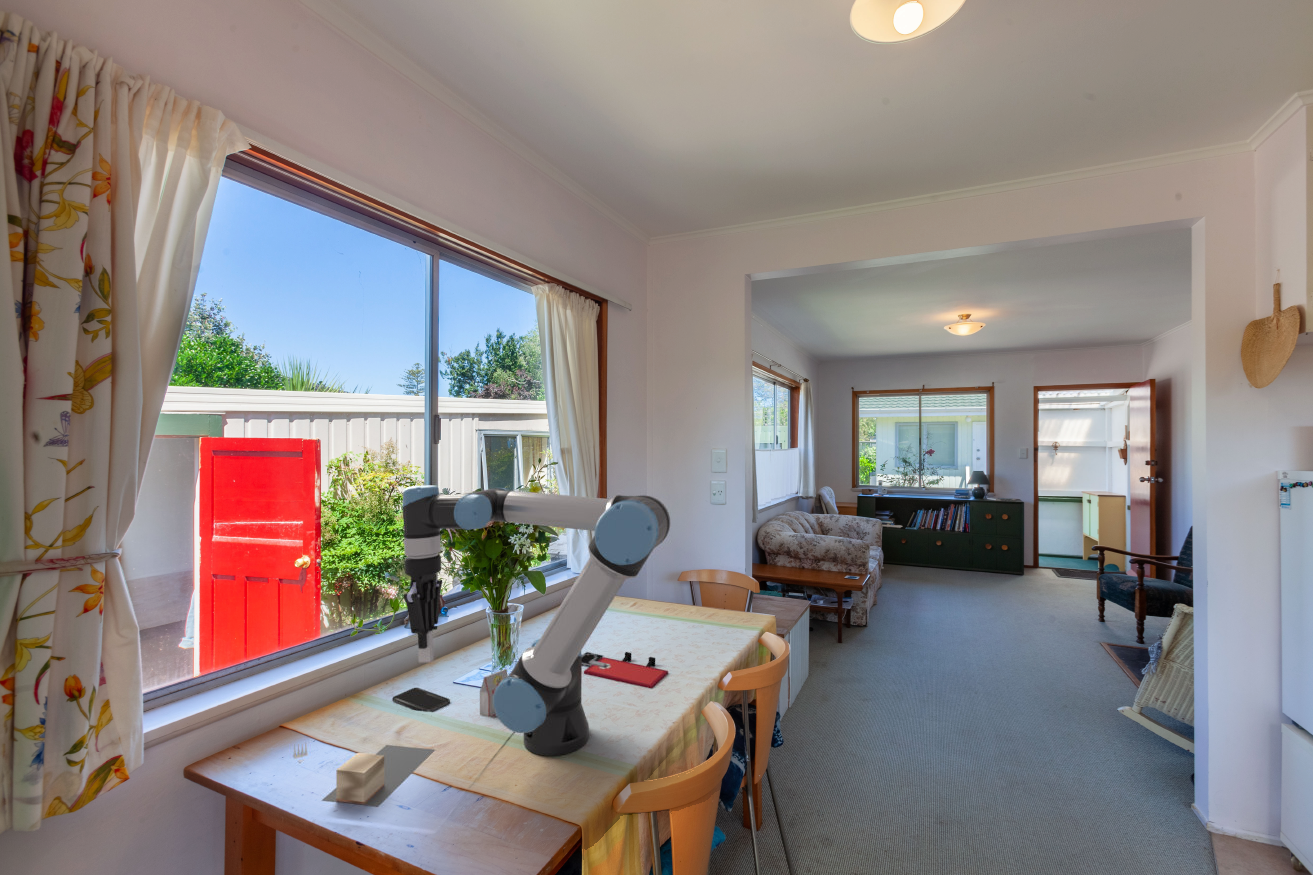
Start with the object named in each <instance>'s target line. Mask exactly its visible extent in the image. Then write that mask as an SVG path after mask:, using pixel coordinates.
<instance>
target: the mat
mask: <svg viewBox="0 0 1313 875" xmlns="http://www.w3.org/2000/svg"><path fill="white" fill-rule="evenodd" d="M434 752H435V749H433V748H432V749H431V748H421V747H413V746H401V745H393V744H392V745H391V744H386V745H384V746H383V747H382V748H381V749H380V750H379V751H377V753H375V754H374V755H383V756H384V786H383V787H382V788H381V789H380V790H379V791H378V792H377V793H376V794H375V795H374V796H373V797H371V798H370V799H369V800H368V801H367V802H366V803H365V804H359V803H351V802H343V801H337V790H336V787H335V788H334V789H333V790H332V791H331V792H329V793H328V794H327V795H326V796H325V797H324V798H323V799H321V802H322V801H323V802H331V803H340V804H341V803H342V804H348V805H349V804H350V805H358V806H365V807H375V808H378V807H380V805H381V804H383V803H384V802H385V801H386V799H388V797H389V796H391V794H393V793H394V791H396V789H398V788H399V787H400V786H401V785H402V783H403V782H405V780H407V779H408V778H409V777H410V775H412V773H414V771H416V770H417V769H418V768H419V767H420V766H421V765H422V764H423V763H424V762H425V761H426V760H427V759H428V757H429V756H430V755H432V754H433V753H434Z"/></svg>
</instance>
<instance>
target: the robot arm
mask: <svg viewBox="0 0 1313 875" xmlns="http://www.w3.org/2000/svg"><path fill="white" fill-rule="evenodd" d="M402 492H403V493H402V506H401V509H402V518H403V541H402V542H403V546H404V548H403V549H404V555H405V556H406V557H405V558H404V574H405V575H406V576H410V582H409V588H410V590H409V591H408V592H404V594H403V599H404V601H405V603H406V609H407V616H408V621H409V627H410V632H411V634H412V635H413V634H414V635H416V634H417V652H418V656H417V657H418V663H431V662H433V661H434V657H435V656H434V631H433V630H435V631H436V630H438V624H439V612H440V603H441V602H440V601H441V589H442V586H443V580H442V579H437V574H438V573H439V572H440V571H441V570H442V555H440V554H439V553H441V551H442V546H441V543H442V542H441V529H442V530H444V529H445V530H446V529H447V530H449V529H450V530H453V529H455V530H467V531H470V530H477V529H479V530H480V529H483V528H485V527H486V526H487V525H488V523H490V522H502V523H515V524H523V525H525V524H526V525H533V526H544V527H551V528H552V527H553V528H560V529H561V528H563V529H572V530H583V531H591V532H592V531H593V532H594V536H593V537H592V539H591V540H590V542H589V544H588V546H587V550H588V553H589V558H588V560H587V562H586V563H585V564H584V566H583V568H582V570H581V571H580V573H579V574H578V576H577V578H576V579H575V581H574V582H573V585H572V586H571V588H570V589H569V591H568V593H567V594H566V596H565V598H564V599H563V601H562V602H561V604H560V606H559V607H558V609H557V610H556V611H555V614H554V615H553V617H552V619H551V620H550V622H549V624H548V625H547V627H546V629H544V632H543V634H542V635H541V637H540V638H539V639H535V640H534V641H533V642H532V643H531V646H529V647H527V648H526V649H525V650H524V651H523V653H522V654H521V655H520V657H519V658H518V661H517V662H516V664H515V666H514V667H513V669H512V670H511V671H510V673H509V674H508V677H507V678H505V679H503V680H502V681H501V682H500V683H499V685H498V686H497V688H496V690H495V692H494V695H493V706H494V708H495V713H496V717H497V719H498V720H499V722H501V724H502V725H503V726H504V727H506V729H508V730H509V731H511V732H514V733H519V734H522V733H523V745H524V747H525V748H526V749H527V750H528V751H529V752H531V753H533V754H536V755H540V756H546V757H548V756H549V757H550V756H552V757H553V756H562V755H566V754H570V753H573V752H575V751H578V750H579V749H581V748H582V747H583V746H585V744H586V743H587V742H588V740H589V738H590V726H589V722H588V719H587V716H586V713H585V710H584V706H583V704H582V677H583V676H582V668H583V667H582V666H583V664H582V655H583V654H582V650H583V648H584V646H586V643H587V642H588V641H589V639H590V638H591V636H592V634H593V633H594V631H595V629H596V627H597V626H598V624H599V623H600V622H601V620H602V618H603V616H604V615H605V614H606V612H607V610H608V609H609V607H610V605H611V603H612V602H613V600H614V599H615V597H616V596H617V593H619V591H620V590H621V588H622V586H623V584H624V583H625V582H626V580H628V579H633V578H636V577H637V576H638V574H640V572H641V570H642V568H643V567H644V565H645V563H646V562H647V560H648V559H649V557H650V555H651V554H652V552H653V551H655V548H657V547H658V546H659V545H660V544H662V543H663V542H664V541H665V539H666V538H667V537H668V534H669V532H670V528H671V517H670V512H669V511H668V509H667V507H666V506H665V504H664V503H663V502H662V501H660V500H659V499H658V498H655V497H654V496H651V495H621V494H617V495H616V494H615V495H614V496H613V497H612V498H600V497H590V496H578V495H567V494H566V495H564V494H555V493H544V492H543V493H542V492H541V493H540V492H530V491H528V492H527V491H520V490H519V491H518V490H517V491H516V490H509V489H508V488H505V487H492V488H489V489H484V490H483V489H482V490H478V491H472V492H465V493H459V494H441V493H440V490H439V486H437V485H435V484H434V485H431V484H430V485H412V486H408V487H406V488H405V489H404V490H403V491H402Z"/></svg>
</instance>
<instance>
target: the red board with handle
mask: <svg viewBox="0 0 1313 875" xmlns="http://www.w3.org/2000/svg"><path fill="white" fill-rule="evenodd" d="M582 665H584V666H588V668H586V669H584V670H583V675H587V676H592V677H597V678H601V679H605V680H610V681H614V682H617V683H618V682H619V683H624V684H629V685H633V686H636V687H637V686H638V687H642V688H647V689H651V690H652V689H653V688H654V687H655V686H656V685H657V684H659V683H660V681H662V680H663V679H665V677H666V676H667V675H668V674H669V670H665V669H661V668H656V667H655V666H656V657H653V656H649V657H648V662H647V664H645V665H642V664H638V663H633V662H632V652H628V651H625V652H624V657H623V658H622V660H619V659H615V658H610V657H605V656H604V655H602V654H597V653H594V652H593V653H592V652H588V651H586V652H585V653H583V654H582Z"/></svg>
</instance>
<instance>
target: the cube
mask: <svg viewBox="0 0 1313 875" xmlns="http://www.w3.org/2000/svg"><path fill="white" fill-rule="evenodd" d="M335 778H336V784H335V785H336V787H335V788H336V790H337V801H343V802H351V803H359V804H365V803H366V802H367V801H368V800H369V799H370V798H371V797H373V796H374V795H375V794H376V793H377V792H378V791H379V790H380V789H381V788H382V787H383V786H384V756H383V755H375V754H373V753H371V754H370V753H365V752H364V753H363V752H357V753H355V754H354V755H353V756H352V757H351V758H349V759H348V760H347V761H345V762H344V763H343V764H342V765H341V766H340V767H338V768H337V769H336V777H335Z"/></svg>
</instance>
